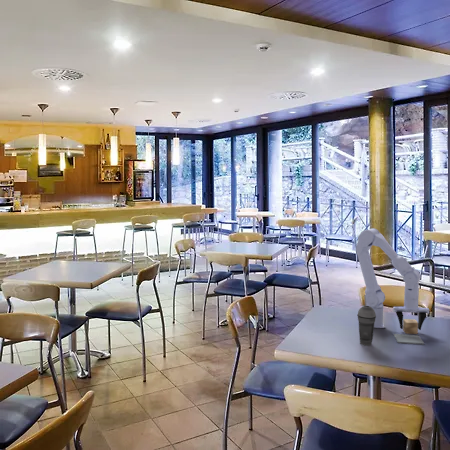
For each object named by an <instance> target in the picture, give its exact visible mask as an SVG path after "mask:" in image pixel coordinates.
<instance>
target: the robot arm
mask: <svg viewBox="0 0 450 450" xmlns="http://www.w3.org/2000/svg"><path fill="white" fill-rule="evenodd" d="M355 246H356V247H355V252H356V255H357V258H358V262H359V266H360V269H361V272H362V276H363V281H364V284H365V292H364V295H366V306H370V307H372V308H373V309H374V311H375V314H376V318H375V322H374V329H375V328H377V329H385V328H386V327H385V325H384V304H383V303H384V302H385V300H386V295H385V292H383V290H382V288H381V286H380V284H378V281H377V280H378V279H377V277H376V273H375V269H374V266H373V262H372V259H371V254H370V249H371V248H372V247H373V246H374V247H377V248H380V249H381V250H382V251H383V252H384V253H385V254H386V256H388V258H389V259H390V260H391V265H392V266H393V267H394V268H395V269H396V271H397V272H398V273H399V274H400V275H401V277H403V278H402V280H403V282H404V293H403V294H404V295H403V296H404V297H403V298H404V299H403V306H393V307H392V311H393V313H395V314H396V316H397V319H398V322H399V328H400V329H401V330H403V319H404V314H403V313H417V314H418V315H417V316H418V321H417V322H418V331H421V329H422V327H423V325H424V322H425V320H426V319H427V314H430V309H429V307H428V308H427V307H419V293H420V291H419V290H420V283H419V281H420V280H421V277H422V276H421V273H420V272H419V270H418V269H415V267H413V266H412V265H411V264H410V263H409V262H408V259H407V257H404V256H403V255H398V253H397V252H396V251H395V249H394V248H393V247H392V246H391V245H390V243H389V242H388V240H387V239H386V237H384V235H383V234H382V233H381V232H380V230H378V229H377V228H373V227H371V228H369V229H364V230H362V231H361V232H360V234H359V235H358V236H357V242H356V245H355ZM363 306H364V305H362V306H361V307H363Z"/></svg>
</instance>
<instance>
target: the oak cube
mask: <svg viewBox="0 0 450 450" xmlns="http://www.w3.org/2000/svg"><path fill="white" fill-rule="evenodd" d="M402 331H403V333H404V334H405V335H418V334H419V333H418V332H419V329H418V321H417V320H416V319H411V318H409V319H408V318H406V319H405V318H403V329H402Z"/></svg>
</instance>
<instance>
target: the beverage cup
mask: <svg viewBox="0 0 450 450" xmlns="http://www.w3.org/2000/svg"><path fill="white" fill-rule="evenodd" d="M362 306H363V307H362ZM362 306H361V307H360V308H359V309H358V310H357V311H358V312H357V321H358V333H359V336H358V337H359V344H360V345H361V346H364V347H370V346H372V345H373V337H374V329H375V328H374V322H375V318H376V314H375V311H374V309H373V308H372V307H370V306H367V304H366V294H364V305H362Z"/></svg>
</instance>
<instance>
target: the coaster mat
mask: <svg viewBox="0 0 450 450" xmlns="http://www.w3.org/2000/svg"><path fill="white" fill-rule="evenodd" d="M393 336H394V339H395V340H396V343H397V344H406V345H407V344H408V345H422V346H423V345H425V342H424V340H423V339H422V338H421V337H420V335H418V334H405V333H404V334H403V333H401V334H400V333H393Z"/></svg>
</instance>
